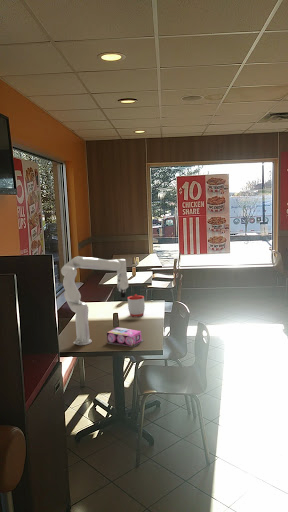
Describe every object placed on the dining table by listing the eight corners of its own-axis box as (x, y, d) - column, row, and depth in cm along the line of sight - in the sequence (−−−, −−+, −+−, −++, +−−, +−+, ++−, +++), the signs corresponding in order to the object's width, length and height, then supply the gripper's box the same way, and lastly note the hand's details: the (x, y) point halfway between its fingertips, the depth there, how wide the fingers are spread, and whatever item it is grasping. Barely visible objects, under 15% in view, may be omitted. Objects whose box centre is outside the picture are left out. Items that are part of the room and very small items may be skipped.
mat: (133, 347, 311) (133, 346, 311) (107, 343, 322) (107, 342, 322) (143, 340, 324) (143, 340, 324) (118, 337, 335) (118, 336, 335)
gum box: (142, 331, 320) (132, 336, 309) (143, 341, 321) (132, 347, 310) (117, 326, 334) (106, 332, 323) (118, 336, 335) (107, 342, 324)
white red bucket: (144, 311, 405) (142, 291, 402) (146, 316, 388) (145, 295, 385) (127, 313, 403) (126, 292, 400) (129, 318, 386) (127, 296, 383)
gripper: (120, 276, 331) (122, 299, 333) (130, 273, 344) (132, 295, 346) (112, 276, 335) (114, 299, 337) (122, 272, 348) (124, 294, 350)
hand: (123, 297), depth 342 cm, fingers closed
